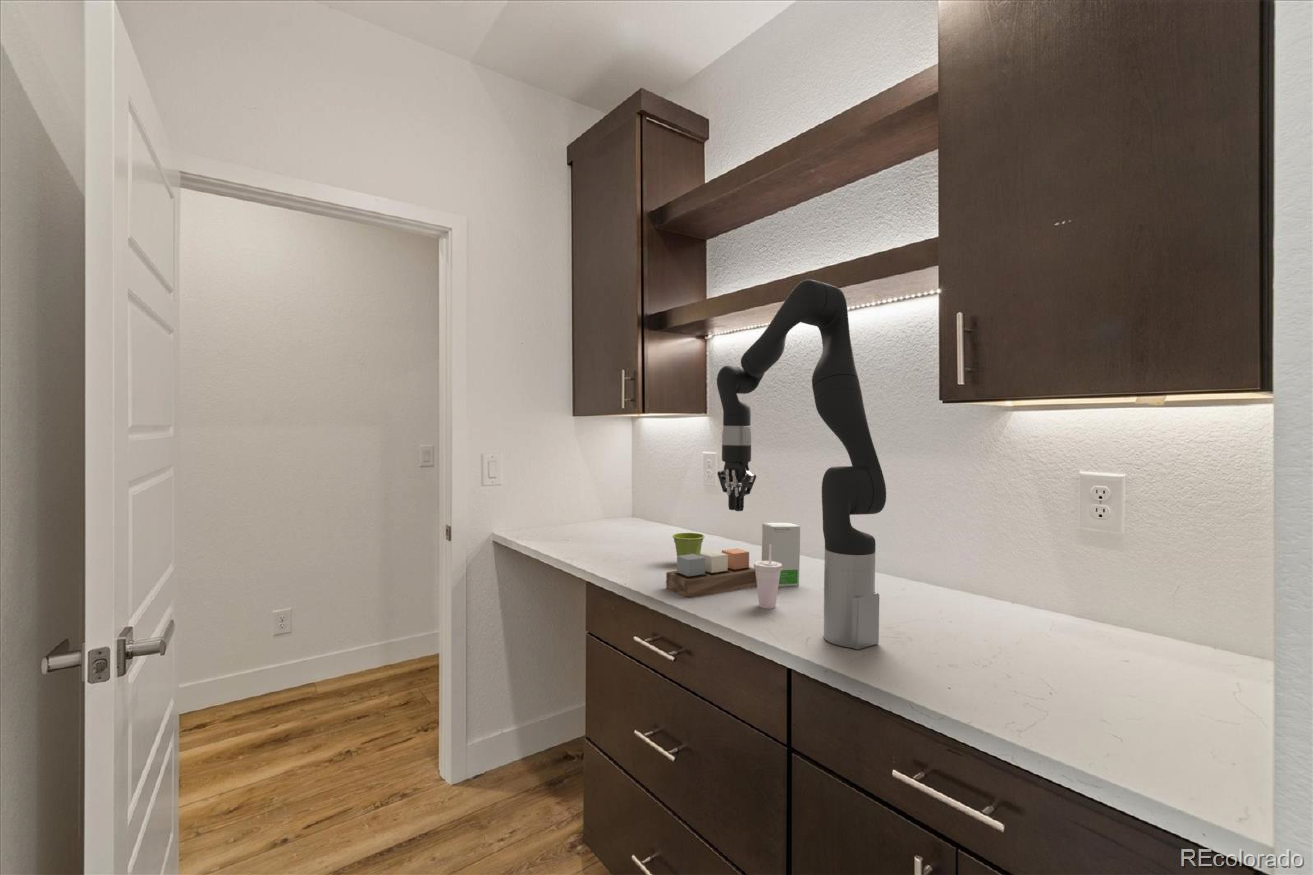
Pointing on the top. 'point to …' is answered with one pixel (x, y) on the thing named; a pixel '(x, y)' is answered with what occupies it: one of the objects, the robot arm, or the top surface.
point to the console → (711, 582)
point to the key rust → (737, 558)
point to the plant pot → (688, 543)
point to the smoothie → (767, 581)
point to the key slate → (691, 565)
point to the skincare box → (783, 550)
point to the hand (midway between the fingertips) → (735, 510)
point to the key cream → (715, 561)
